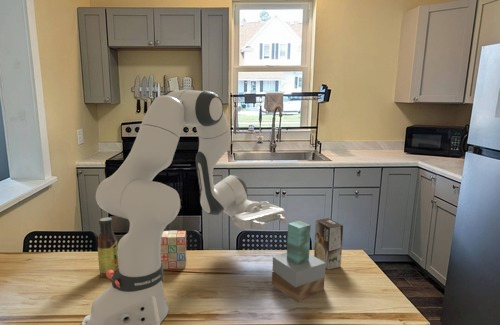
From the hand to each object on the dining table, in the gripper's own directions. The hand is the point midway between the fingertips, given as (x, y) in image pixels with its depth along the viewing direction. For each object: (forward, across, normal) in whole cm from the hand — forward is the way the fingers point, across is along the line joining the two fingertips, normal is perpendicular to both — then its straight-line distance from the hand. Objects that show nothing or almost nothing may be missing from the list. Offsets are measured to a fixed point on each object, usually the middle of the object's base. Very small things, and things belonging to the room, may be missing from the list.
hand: (274, 223), depth 117 cm
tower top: (+12, 0, +14) cm, 18 cm away
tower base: (+12, 0, +19) cm, 22 cm away
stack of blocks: (-29, -31, +18) cm, 47 cm away
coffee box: (+7, +21, +18) cm, 29 cm away
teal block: (+12, 0, +8) cm, 15 cm away
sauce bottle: (-33, -47, +18) cm, 60 cm away
